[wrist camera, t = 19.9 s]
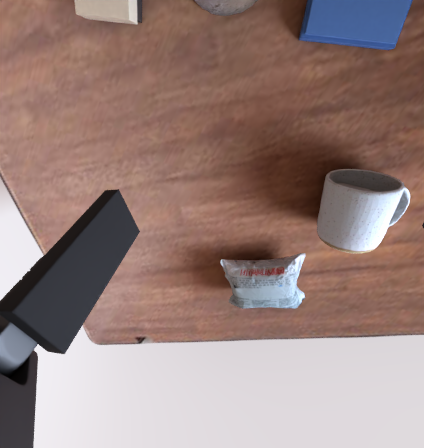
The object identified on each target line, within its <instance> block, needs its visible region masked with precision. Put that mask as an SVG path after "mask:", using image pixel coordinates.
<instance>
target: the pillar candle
mask: <svg viewBox="0 0 424 448" xmlns="http://www.w3.org/2000/svg"><path fill="white" fill-rule="evenodd" d="M194 1H195V2H196V3H197V4H198V5H199V6H200V7H201V8H203V9H205V10H207V11H208V12H210V13H212V14H215V15H222V16H226V15H233V14H237V13H241V12H243V11H245V10H246V9H248V8H250V7H251V6H252V5H253V4H254V3H255V2H256V1H257V0H194Z"/></svg>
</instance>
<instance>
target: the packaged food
mask: <svg viewBox="0 0 424 448" xmlns="http://www.w3.org/2000/svg"><path fill="white" fill-rule="evenodd" d="M304 258H305V254H304V253H300V254H297V255H293V256H291V257H284V258H276V259H270V260H225V259H221V261H220V262H221V265H222V267H223V269H224V271H225V273H226V275H225V277H226V278H227V279H228V281H229V282H230V285H231V288H232V292H233V295H232V296H231V297H230V299H229V303H231V304H233V305H235V306H237V307H240V308H242V309H243V308H256V307H274V308H297V307H298V306H299V305H300V304H301V303H302V300H304V298H305V296H304V292H302V291H301V290H300V289H299V288H298V287H297V286H296V283H297V281H296V280H297V278H298V275H299V272H300V269H301V265H302V263H303V260H304ZM225 269H226V270H225Z"/></svg>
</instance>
